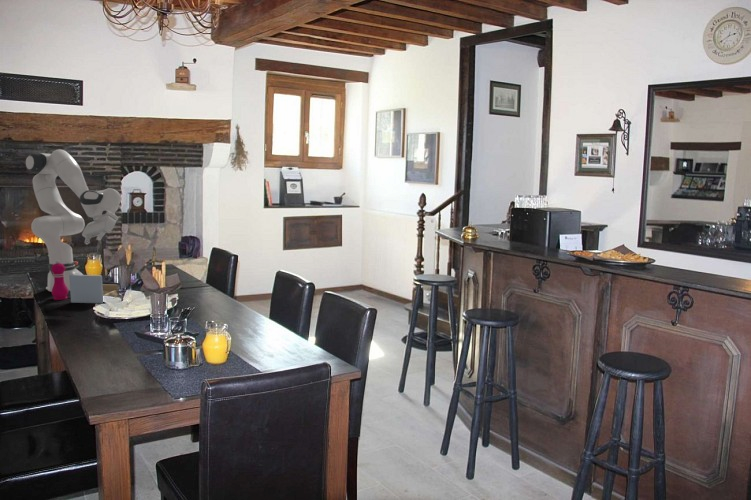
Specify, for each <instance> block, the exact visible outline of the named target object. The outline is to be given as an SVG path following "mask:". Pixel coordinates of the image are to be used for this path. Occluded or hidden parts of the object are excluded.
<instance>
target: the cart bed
mask: <svg viewBox="0 0 751 500" xmlns="http://www.w3.org/2000/svg"><path fill="white" fill-rule="evenodd" d="M103 296H113V297H115V298H117V297H119V284H109V283H108V284H106V283H105V284H104V283H103Z"/></svg>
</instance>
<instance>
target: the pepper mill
mask: <svg viewBox="0 0 751 500" xmlns="http://www.w3.org/2000/svg"><path fill="white" fill-rule="evenodd" d="M51 271H52V272H53V273H54V274H53V277H54V286H53V288H52V292H51V295H52V296H53V298H52V299H53V300H54V301H59V300H60V301H61V300H66V299H68V294H69V291H68V288H67V286H66V285H65V282H64V276H65V275H64V271H65V266H64V265H63V264H61V263H60V261H59V260H57V261H56V264H54V265H53V266H52V267H51Z"/></svg>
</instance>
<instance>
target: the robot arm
mask: <svg viewBox="0 0 751 500" xmlns="http://www.w3.org/2000/svg"><path fill="white" fill-rule="evenodd" d="M24 164H25V169H26V170H27V172H29V173H33V174H36V175H33V178H32V188H33V191H34V192H33V193H34V195H35V196H34V197H35V198H36V201H37V203H38V207H39V208H40V210H41V211H42V212H44V213H47V214H49V215H43V216H37V217H35V218H34V219H33V220H32V222H31V224H30V225H31V226H30V228H31V232H32V233H33V235H34V236H35V237H37V238H39V239H40V240H41V241H42V242H43V243H44V244H45V246H46V248H47V253H48V259H49V260H48V261H49V263H48V271H49V272H48V273H47V286H46V287H45V290H47V291H48V292H51V293H52V288H53V286H54V277H53V274H54V273H53V272H52V271H51V267H52V266H53V265H54V264H56V261H57V260H59V261H60V263H61V264H63V265H64V266H65V271H64V275H65V276H64V282H65V285H66V286H67V288H68V292H70V280H69V275H84V274H83V273H82V272H81V271H80V270H78V269H77V268H76V266H78V265H79V261H74V257H73V256H74V254H73V248H72V246H71V245H70V244H68V243H66V242H63V241H62V239H61V237H64V236H66V237H67V236H72V235H73V236H75V235H77V234H80V233H81V236H82V237H83V238H85V239H84V242H83V243H84V244H85V245H89V244H91V241H90V240H92V238H95V237H96V239H95V240H96V241H101V240H102V239H103V237H104V236H105V235H106V234H107V233H110V232H112V231H113V230H114V227H115V225H116V223H117V221H119V216H117V214H116V212H117V211H118V209H119V207H120V204H121V201H122V196H121V193H120V192H119V191H118V190H117V189H114V188H111V187H107V188H106V189H102V190H93V189H89V187H88V184H87V182H86V180H85V176H84V174H83V170H82V169H81V167H80V165H79V163H78V162H77V161H76V160H75V158H74V157H73V156H72V155H71V154H70V153H69V152H68V151H66V150H64V149H56V150H54V151H52V152H51V153H50V152H49V153H43V152H42V153H40V152H32V153H29V154H28V155H27V156H26V158H25V160H24ZM60 179H61V180H62V182H64V184H66V185H67V187H68V188H70V189H71V191H72V192H73V193H74V194H75V195H76V196H77V198H78V200H79V202H80V204H81V207H82V209H83V210H84V212H85V214H86V215H85V216H86V217H87V219H88V220H89V221H91V222H88V223H87V224H85V220H84V217H82V216H81V215H80V214H78V213H76V212H74V211H72V210H71V209H70V208H69V207H68V206H67V205H66V204H65V203H64V201H63V199H62V196H61V194H60V191H59V189H58V187H57V184H56V180H60Z"/></svg>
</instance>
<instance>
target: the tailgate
mask: <svg viewBox="0 0 751 500" xmlns="http://www.w3.org/2000/svg"><path fill="white" fill-rule="evenodd" d="M69 280H70V291H69V292H70V293H69V294H70V303H73V304H75V303H78V304H79V303H80V304H83V303H84V304H104V303H103V284H104V283H103V275H101V274H100V275H97V274H96V275H95V274H83V275H69Z"/></svg>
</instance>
